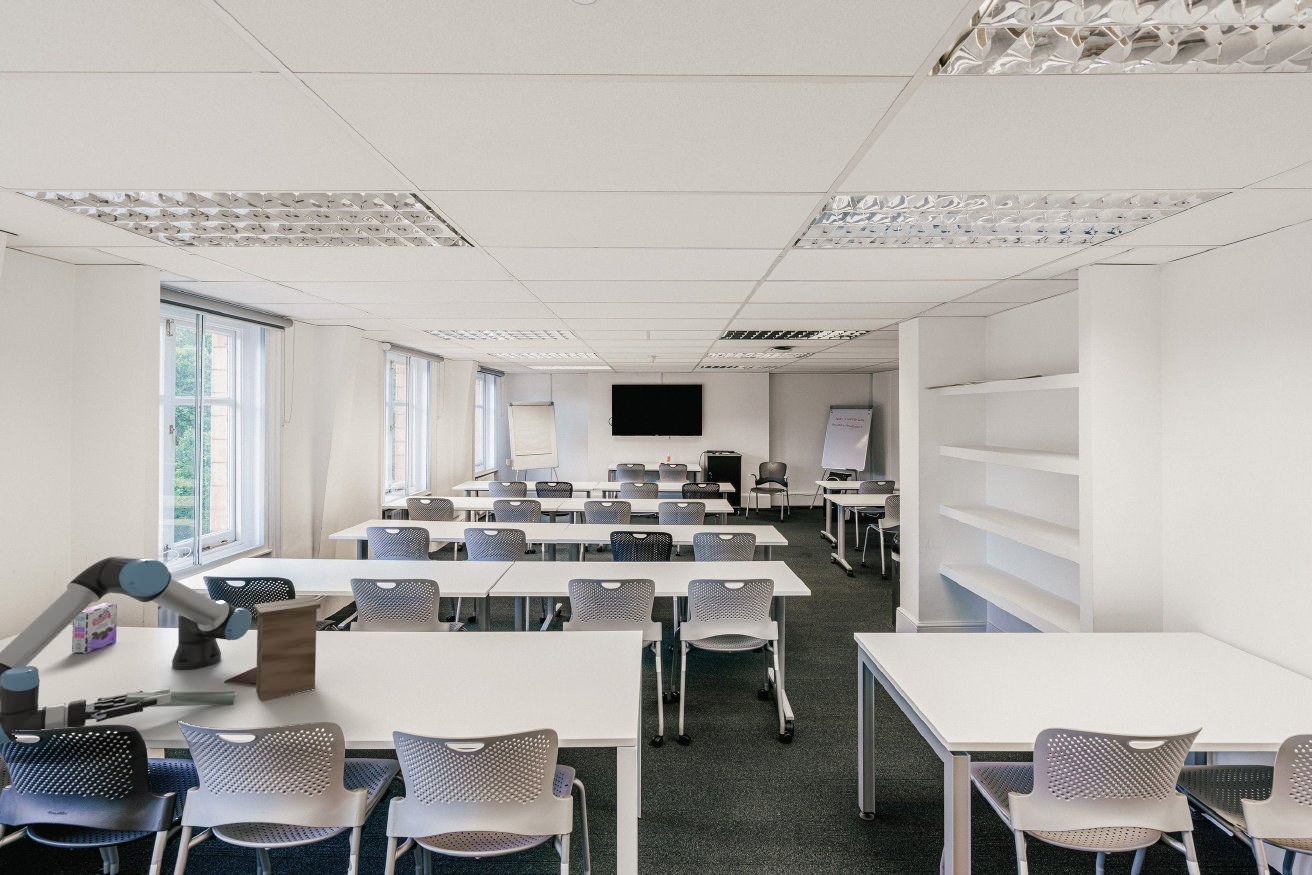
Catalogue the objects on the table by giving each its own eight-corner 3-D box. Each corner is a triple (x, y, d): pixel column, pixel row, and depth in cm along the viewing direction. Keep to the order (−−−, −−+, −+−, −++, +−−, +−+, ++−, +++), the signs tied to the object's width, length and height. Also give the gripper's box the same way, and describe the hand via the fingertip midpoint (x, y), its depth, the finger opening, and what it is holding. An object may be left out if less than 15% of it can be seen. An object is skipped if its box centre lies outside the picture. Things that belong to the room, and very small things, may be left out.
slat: (123, 702, 188) (127, 692, 188) (231, 700, 206) (234, 691, 206) (124, 707, 185) (127, 696, 185) (233, 704, 203) (235, 695, 203)
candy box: (86, 653, 243) (86, 612, 243) (71, 653, 243) (72, 611, 243) (117, 642, 257) (117, 602, 257) (103, 641, 257) (103, 602, 257)
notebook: (224, 684, 219) (224, 678, 219) (269, 664, 239) (269, 659, 239) (260, 689, 216) (260, 683, 216) (303, 668, 236) (303, 663, 236)
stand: (252, 691, 213) (254, 604, 213) (310, 678, 225) (312, 596, 225) (258, 703, 204) (260, 612, 204) (318, 689, 216) (320, 603, 216)
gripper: (68, 718, 185) (168, 697, 200) (65, 740, 172) (171, 716, 187) (69, 693, 185) (168, 674, 200) (65, 713, 172) (172, 692, 187)
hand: (170, 695), depth 193 cm, fingers closed on slat, 4 cm apart
